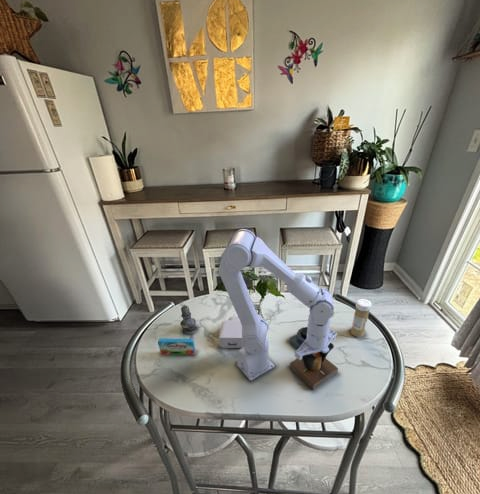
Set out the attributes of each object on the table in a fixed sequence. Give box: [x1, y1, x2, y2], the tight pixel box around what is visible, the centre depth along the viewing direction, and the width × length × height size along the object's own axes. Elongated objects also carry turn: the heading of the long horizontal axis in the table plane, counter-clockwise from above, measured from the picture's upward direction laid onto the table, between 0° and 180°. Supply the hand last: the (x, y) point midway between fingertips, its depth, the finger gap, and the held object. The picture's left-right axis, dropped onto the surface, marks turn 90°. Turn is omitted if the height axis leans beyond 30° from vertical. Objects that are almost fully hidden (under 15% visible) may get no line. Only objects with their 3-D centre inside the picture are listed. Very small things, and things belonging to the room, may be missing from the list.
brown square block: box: [289, 357, 339, 391], centre depth 83 cm, size 10×10×3 cm
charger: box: [218, 314, 244, 349], centre depth 99 cm, size 5×9×15 cm
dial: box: [311, 353, 322, 370], centre depth 82 cm, size 4×4×4 cm
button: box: [301, 326, 308, 339], centre depth 93 cm, size 4×4×2 cm
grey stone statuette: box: [179, 304, 198, 335], centre depth 101 cm, size 6×6×12 cm
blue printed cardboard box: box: [157, 337, 197, 356], centre depth 92 cm, size 12×2×6 cm, turn 85°
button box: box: [288, 326, 306, 350], centre depth 94 cm, size 10×8×4 cm
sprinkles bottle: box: [350, 298, 372, 338], centre depth 93 cm, size 5×5×14 cm
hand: (313, 364), depth 83 cm, fingers open, 4 cm apart
